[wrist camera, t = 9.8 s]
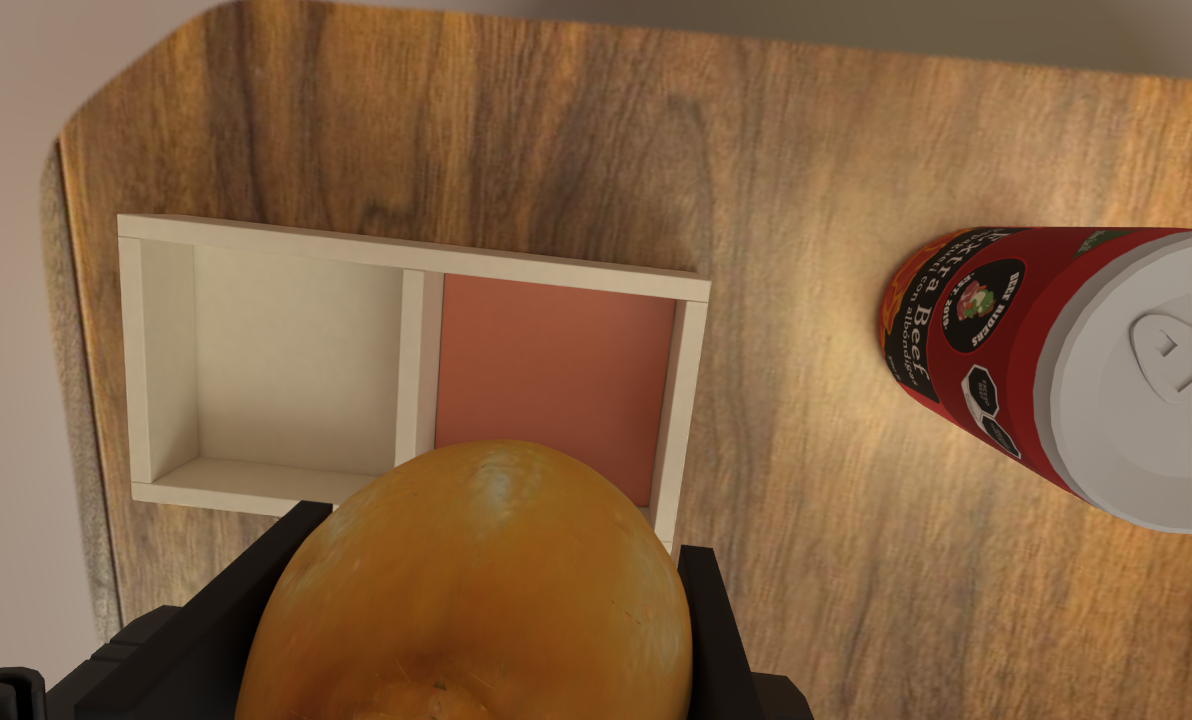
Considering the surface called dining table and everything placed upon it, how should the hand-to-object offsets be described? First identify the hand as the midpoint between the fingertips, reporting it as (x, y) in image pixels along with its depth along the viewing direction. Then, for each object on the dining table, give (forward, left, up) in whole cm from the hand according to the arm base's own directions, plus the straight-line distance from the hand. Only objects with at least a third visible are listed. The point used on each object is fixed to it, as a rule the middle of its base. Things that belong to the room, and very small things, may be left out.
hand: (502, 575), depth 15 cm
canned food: (+14, +11, -13) cm, 22 cm away
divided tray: (-5, -1, -13) cm, 14 cm away
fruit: (0, 0, 0) cm, 0 cm away
